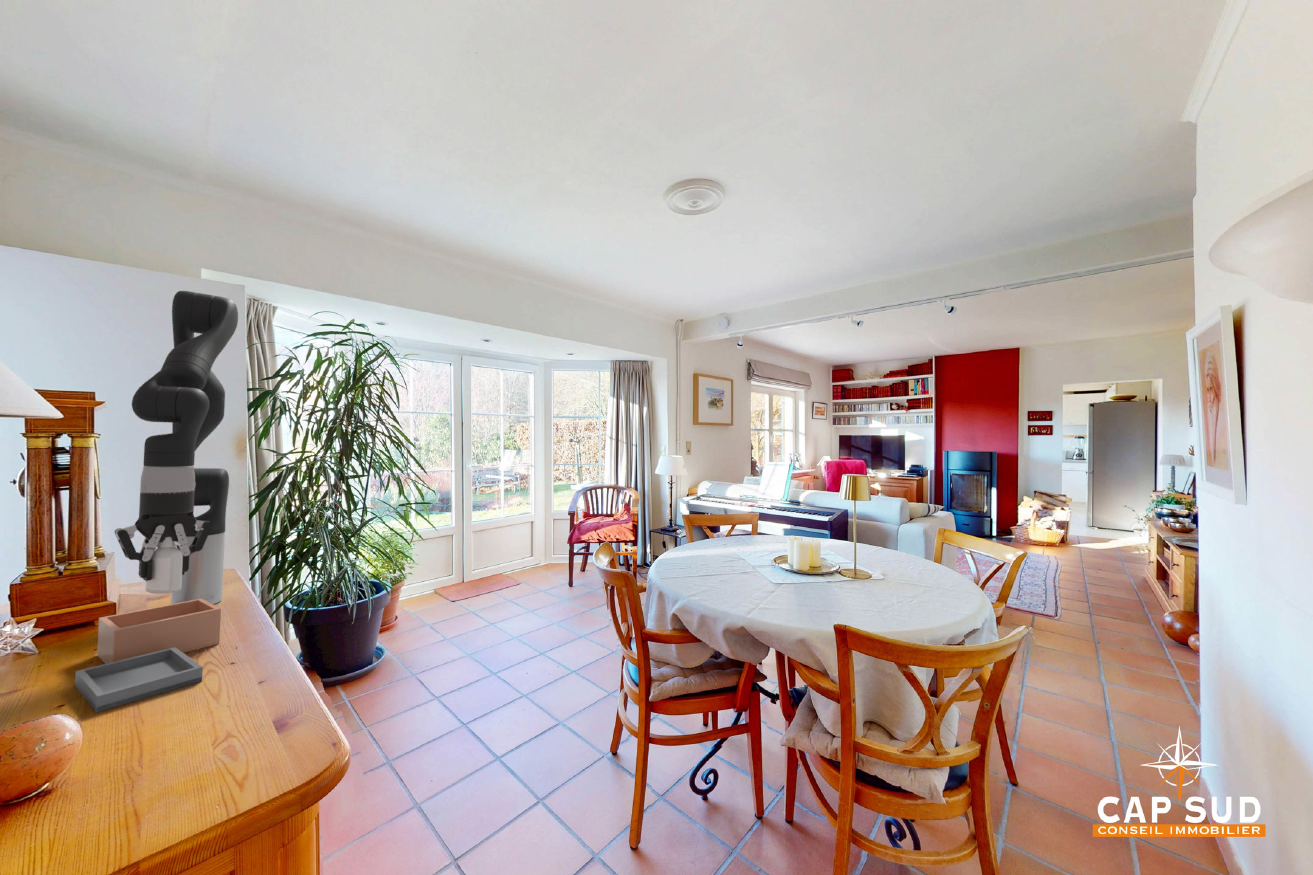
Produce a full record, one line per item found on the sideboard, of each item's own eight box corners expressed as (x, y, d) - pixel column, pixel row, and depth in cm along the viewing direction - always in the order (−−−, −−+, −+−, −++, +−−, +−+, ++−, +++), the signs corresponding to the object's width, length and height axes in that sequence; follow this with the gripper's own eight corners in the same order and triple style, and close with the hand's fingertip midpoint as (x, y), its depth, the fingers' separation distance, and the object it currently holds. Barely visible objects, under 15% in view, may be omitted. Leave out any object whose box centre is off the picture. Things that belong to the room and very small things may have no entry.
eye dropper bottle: (151, 596, 92) (154, 532, 92) (143, 590, 95) (147, 528, 95) (182, 591, 96) (186, 529, 96) (174, 585, 99) (178, 526, 99)
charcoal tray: (74, 685, 81) (75, 671, 81) (174, 659, 91) (175, 646, 91) (96, 712, 73) (97, 696, 73) (201, 681, 83) (202, 666, 84)
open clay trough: (97, 655, 92) (99, 617, 92) (199, 631, 104) (201, 598, 104) (112, 670, 86) (114, 630, 86) (219, 643, 98) (220, 608, 99)
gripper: (208, 485, 103) (204, 566, 103) (109, 489, 91) (104, 581, 91) (222, 488, 100) (218, 573, 99) (120, 493, 87) (115, 589, 87)
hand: (163, 576), depth 95 cm, fingers closed on eye dropper bottle, 4 cm apart
